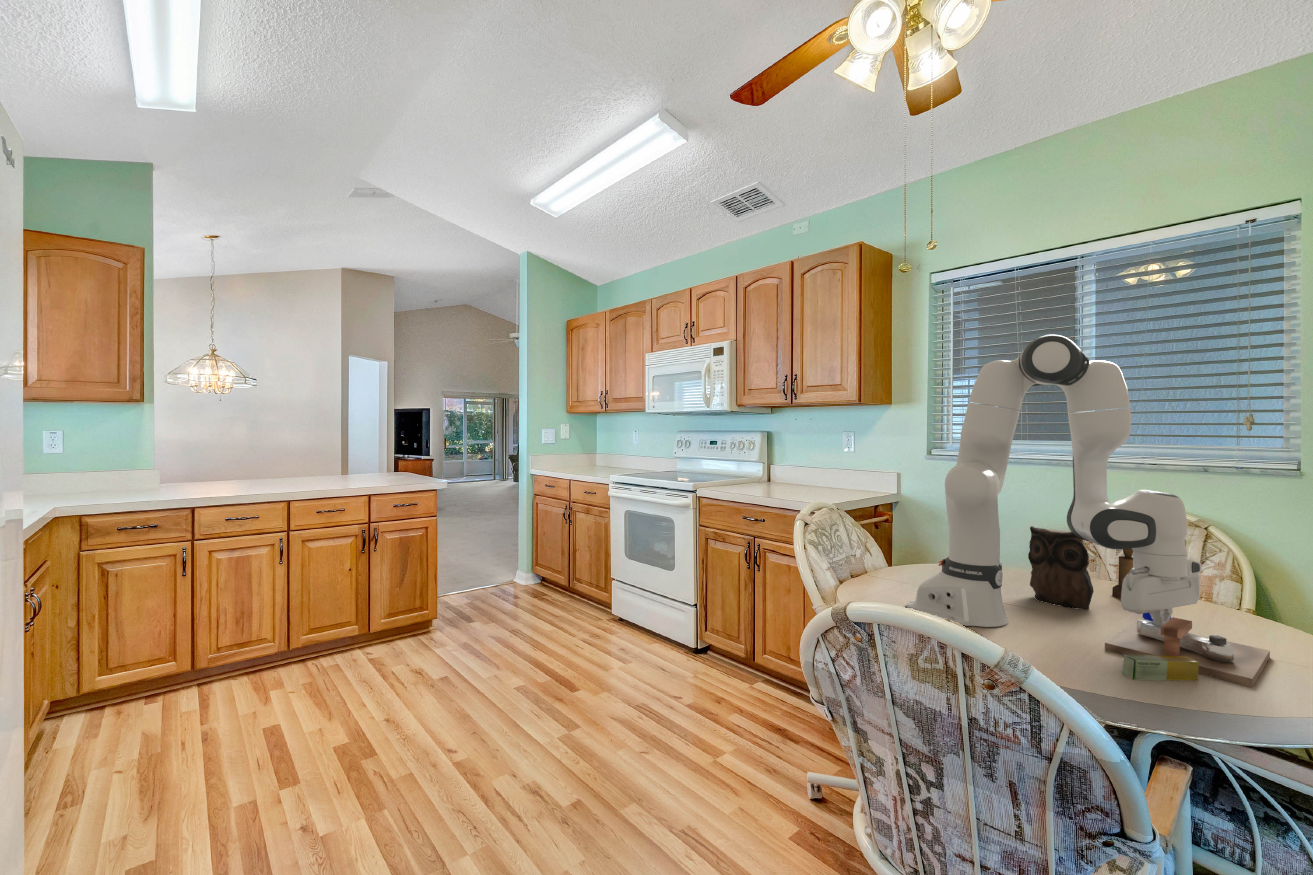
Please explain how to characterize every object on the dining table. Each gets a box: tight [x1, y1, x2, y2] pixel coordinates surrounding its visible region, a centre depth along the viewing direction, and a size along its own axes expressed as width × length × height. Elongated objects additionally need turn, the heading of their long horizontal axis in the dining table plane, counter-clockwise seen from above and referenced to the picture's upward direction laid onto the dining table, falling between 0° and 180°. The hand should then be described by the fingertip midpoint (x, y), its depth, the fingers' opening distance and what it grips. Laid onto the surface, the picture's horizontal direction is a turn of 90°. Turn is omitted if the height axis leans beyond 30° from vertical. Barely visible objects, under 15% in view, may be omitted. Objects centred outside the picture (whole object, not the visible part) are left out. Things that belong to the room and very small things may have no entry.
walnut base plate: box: [1104, 616, 1271, 688], centre depth 116 cm, size 22×22×7 cm
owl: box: [1027, 525, 1094, 611], centre depth 151 cm, size 13×13×20 cm
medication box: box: [1121, 654, 1199, 681], centre depth 105 cm, size 12×3×4 cm, turn 88°
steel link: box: [1136, 619, 1234, 661], centre depth 115 cm, size 17×4×2 cm, turn 13°
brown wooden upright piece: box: [1111, 548, 1133, 600], centre depth 154 cm, size 7×6×18 cm
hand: (1160, 628), depth 122 cm, fingers closed
